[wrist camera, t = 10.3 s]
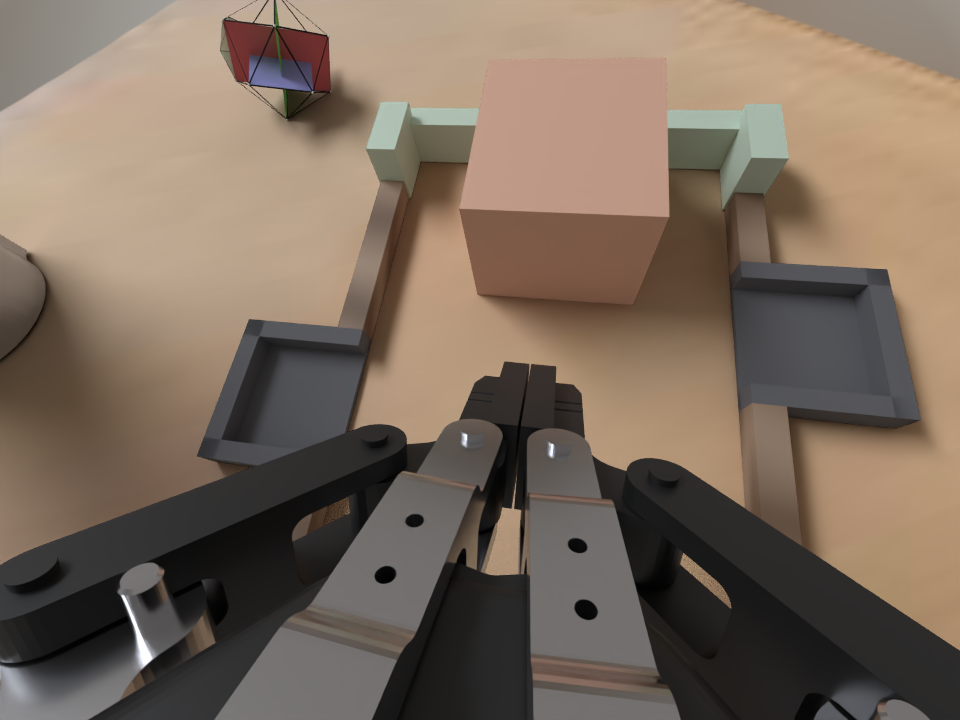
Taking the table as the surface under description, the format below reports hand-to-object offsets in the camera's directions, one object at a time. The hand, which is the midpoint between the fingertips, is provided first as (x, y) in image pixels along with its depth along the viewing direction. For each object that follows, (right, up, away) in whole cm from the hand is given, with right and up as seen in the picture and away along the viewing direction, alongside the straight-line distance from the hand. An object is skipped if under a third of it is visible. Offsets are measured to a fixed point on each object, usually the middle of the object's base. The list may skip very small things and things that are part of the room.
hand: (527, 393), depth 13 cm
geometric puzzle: (-16, +22, +23) cm, 35 cm away
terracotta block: (+4, +9, +15) cm, 18 cm away
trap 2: (-12, -1, +12) cm, 17 cm away
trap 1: (+16, +2, +10) cm, 19 cm away
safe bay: (+4, +13, +17) cm, 22 cm away
